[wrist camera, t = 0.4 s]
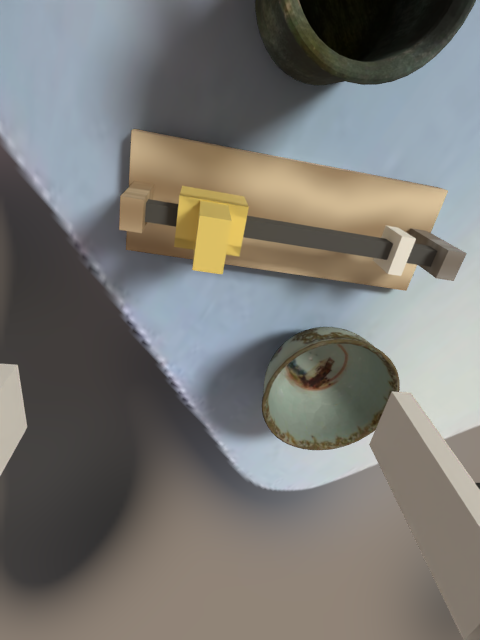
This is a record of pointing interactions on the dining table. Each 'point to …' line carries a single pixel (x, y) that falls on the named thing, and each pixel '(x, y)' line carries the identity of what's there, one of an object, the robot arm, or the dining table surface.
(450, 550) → the robot arm
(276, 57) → the mug
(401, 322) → the dining table surface
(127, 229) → the wooden slider rail
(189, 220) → the sleeve
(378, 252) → the rod
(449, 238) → the dining table surface
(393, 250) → the band
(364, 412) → the bowl
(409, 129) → the dining table surface
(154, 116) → the dining table surface
